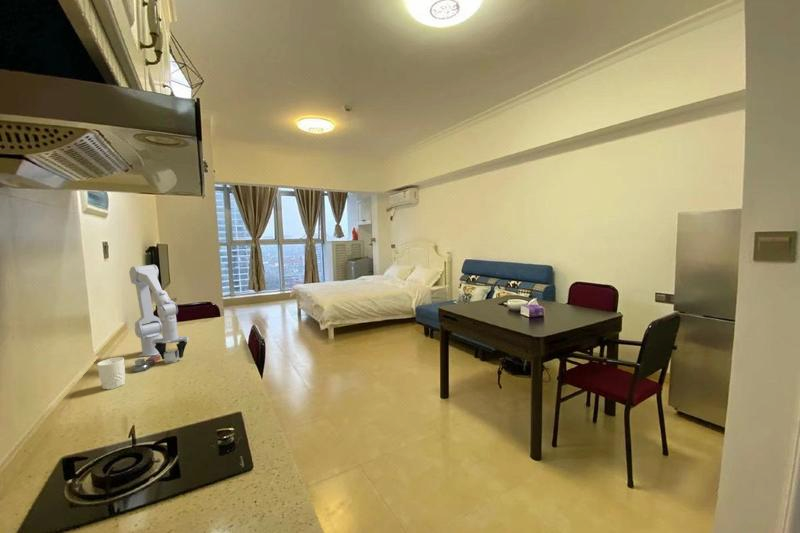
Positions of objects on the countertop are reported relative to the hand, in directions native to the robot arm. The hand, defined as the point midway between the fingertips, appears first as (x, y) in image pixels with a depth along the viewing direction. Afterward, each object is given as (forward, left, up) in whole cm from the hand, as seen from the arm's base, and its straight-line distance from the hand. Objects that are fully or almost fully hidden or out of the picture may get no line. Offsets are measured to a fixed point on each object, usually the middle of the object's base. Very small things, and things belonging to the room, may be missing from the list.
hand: (172, 357), depth 151 cm
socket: (0, 0, -1) cm, 1 cm away
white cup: (+23, -10, -2) cm, 25 cm away
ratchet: (+3, -9, -2) cm, 10 cm away
